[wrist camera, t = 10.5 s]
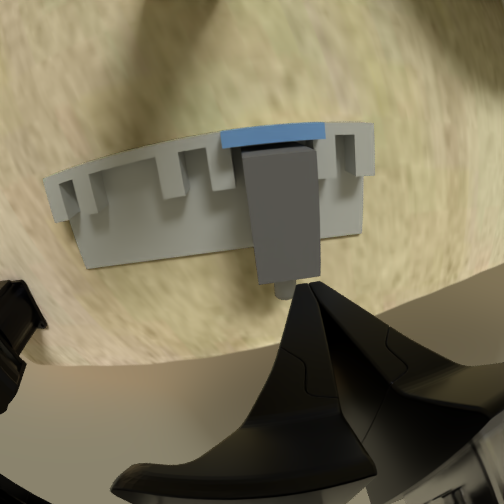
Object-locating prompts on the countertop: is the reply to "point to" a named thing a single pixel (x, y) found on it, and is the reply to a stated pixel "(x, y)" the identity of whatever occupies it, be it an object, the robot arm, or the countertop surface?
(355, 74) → the countertop surface
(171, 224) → the grey toothed rack
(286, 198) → the dark grey knobbed block
